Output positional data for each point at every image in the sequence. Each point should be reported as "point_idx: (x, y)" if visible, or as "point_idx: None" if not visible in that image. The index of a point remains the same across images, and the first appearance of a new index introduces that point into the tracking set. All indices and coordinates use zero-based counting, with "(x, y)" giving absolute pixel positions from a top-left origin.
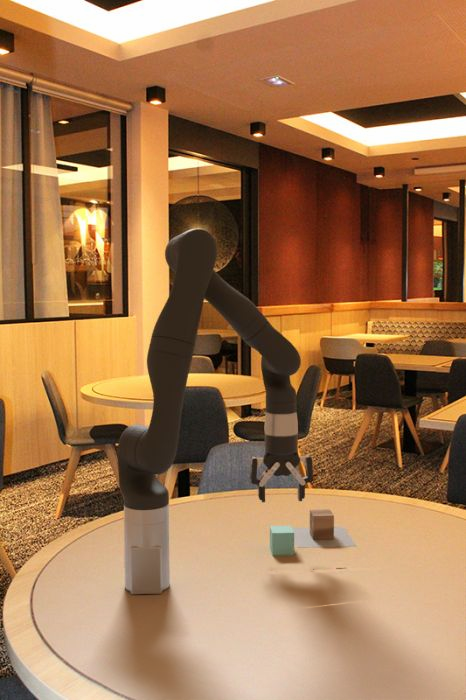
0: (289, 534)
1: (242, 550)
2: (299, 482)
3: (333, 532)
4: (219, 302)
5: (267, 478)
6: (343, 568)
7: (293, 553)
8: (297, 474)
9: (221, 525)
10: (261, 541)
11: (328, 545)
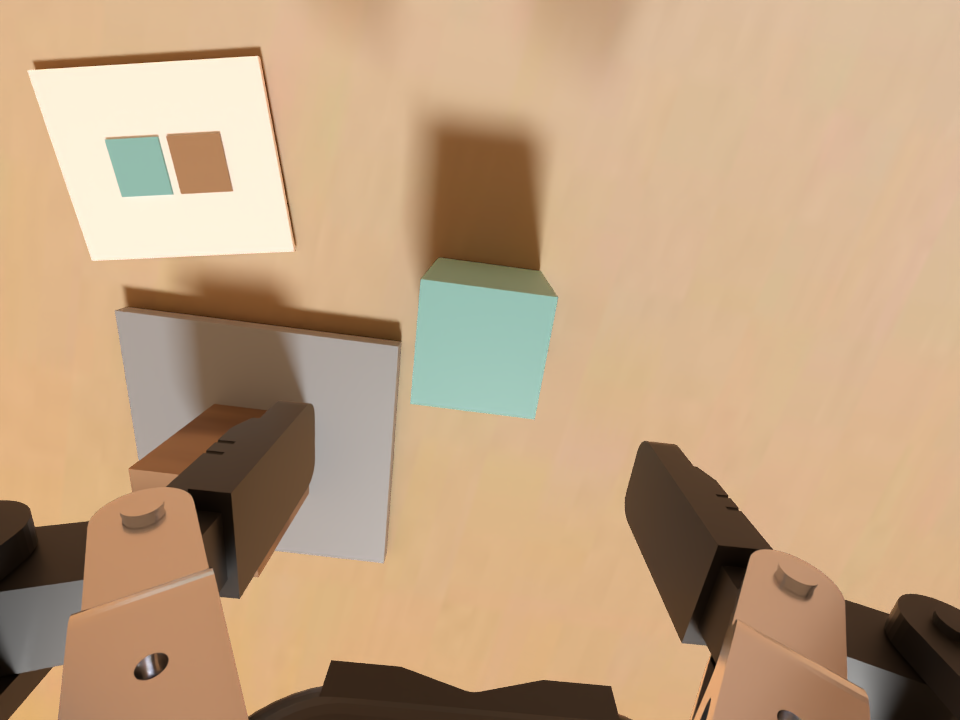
0: (452, 280)
1: (634, 402)
2: (195, 524)
3: (194, 420)
4: None
5: (774, 641)
6: (224, 60)
7: (439, 260)
8: (118, 634)
9: (624, 652)
10: (524, 480)
11: (249, 342)
